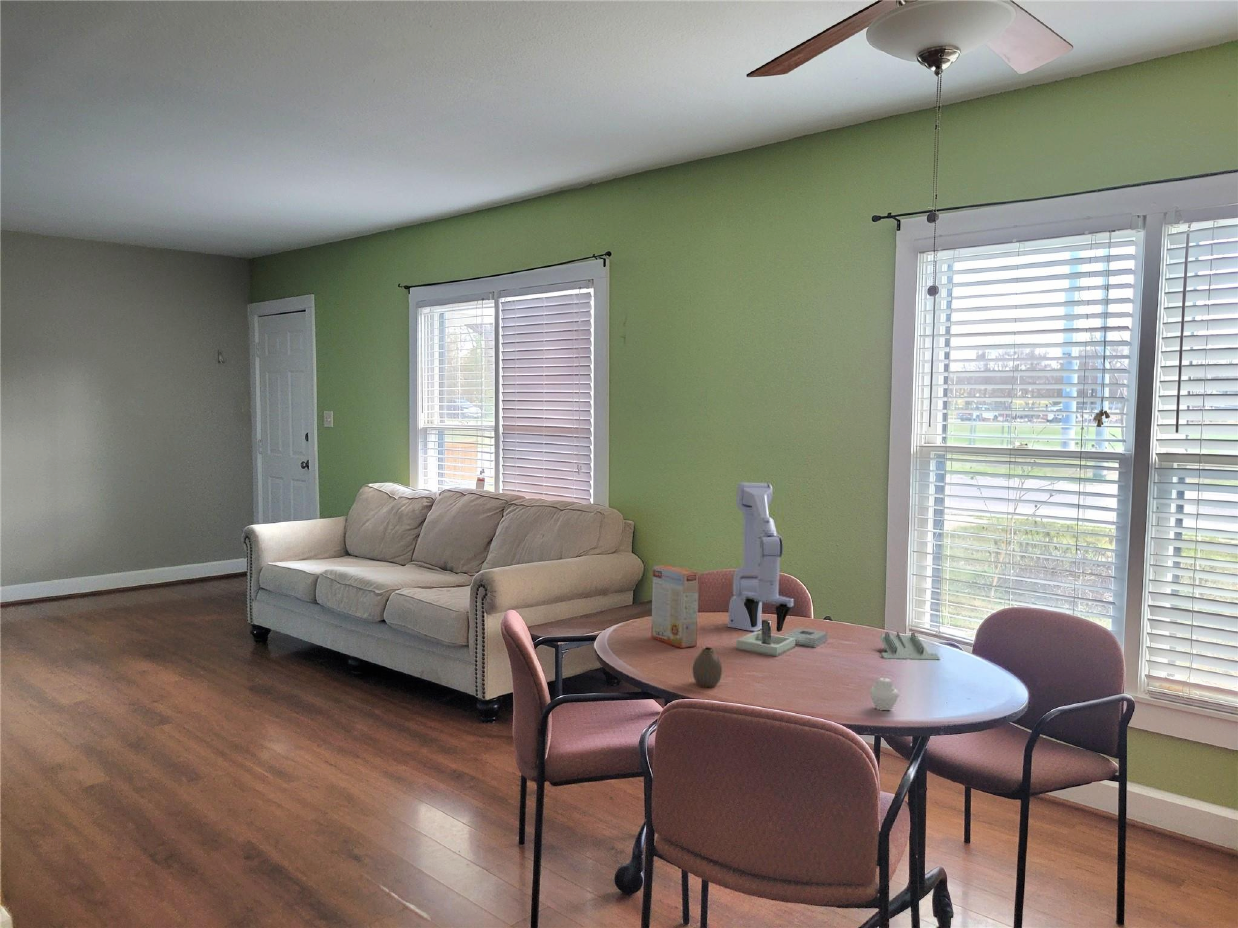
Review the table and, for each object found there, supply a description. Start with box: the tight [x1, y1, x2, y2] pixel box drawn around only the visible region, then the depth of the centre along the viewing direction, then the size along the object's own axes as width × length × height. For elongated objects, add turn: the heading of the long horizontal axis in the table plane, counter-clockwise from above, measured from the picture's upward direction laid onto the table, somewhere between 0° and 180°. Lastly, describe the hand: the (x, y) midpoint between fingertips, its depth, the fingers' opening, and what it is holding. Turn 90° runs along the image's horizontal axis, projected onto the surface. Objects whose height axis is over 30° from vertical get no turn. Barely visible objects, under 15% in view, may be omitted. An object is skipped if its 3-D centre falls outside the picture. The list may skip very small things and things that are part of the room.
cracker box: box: [650, 564, 700, 649], centre depth 243 cm, size 14×6×21 cm, turn 34°
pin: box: [761, 619, 772, 645], centre depth 240 cm, size 3×3×7 cm
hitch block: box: [784, 627, 828, 648], centre depth 248 cm, size 9×9×2 cm
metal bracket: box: [878, 630, 941, 661], centre depth 238 cm, size 14×6×15 cm
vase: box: [692, 646, 723, 688], centre depth 206 cm, size 7×7×9 cm
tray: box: [736, 630, 796, 657], centre depth 240 cm, size 12×12×2 cm
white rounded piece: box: [869, 677, 900, 711], centre depth 192 cm, size 6×6×7 cm
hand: (766, 628), depth 240 cm, fingers open, 7 cm apart
